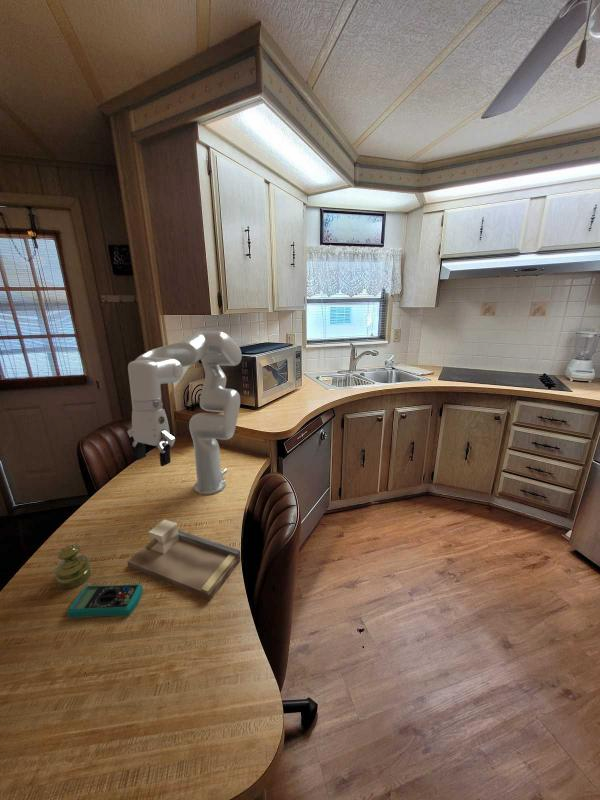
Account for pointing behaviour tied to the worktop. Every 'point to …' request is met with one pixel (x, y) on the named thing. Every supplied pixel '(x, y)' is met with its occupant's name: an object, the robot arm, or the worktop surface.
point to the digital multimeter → (106, 601)
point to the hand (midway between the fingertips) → (153, 461)
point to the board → (189, 564)
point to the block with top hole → (163, 536)
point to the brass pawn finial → (72, 567)
